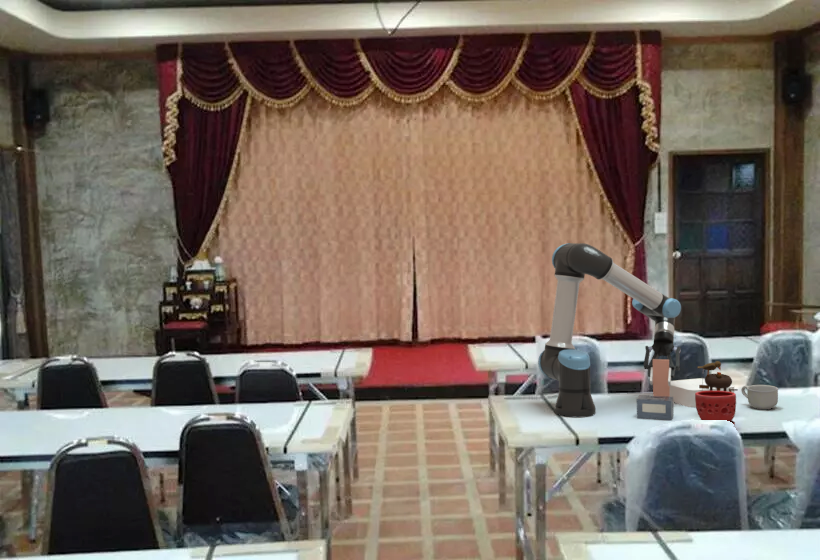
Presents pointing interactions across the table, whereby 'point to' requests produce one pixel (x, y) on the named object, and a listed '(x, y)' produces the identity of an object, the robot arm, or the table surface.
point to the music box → (716, 378)
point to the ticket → (661, 377)
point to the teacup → (761, 396)
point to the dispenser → (655, 407)
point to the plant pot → (719, 411)
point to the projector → (689, 391)
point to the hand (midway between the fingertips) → (660, 383)
